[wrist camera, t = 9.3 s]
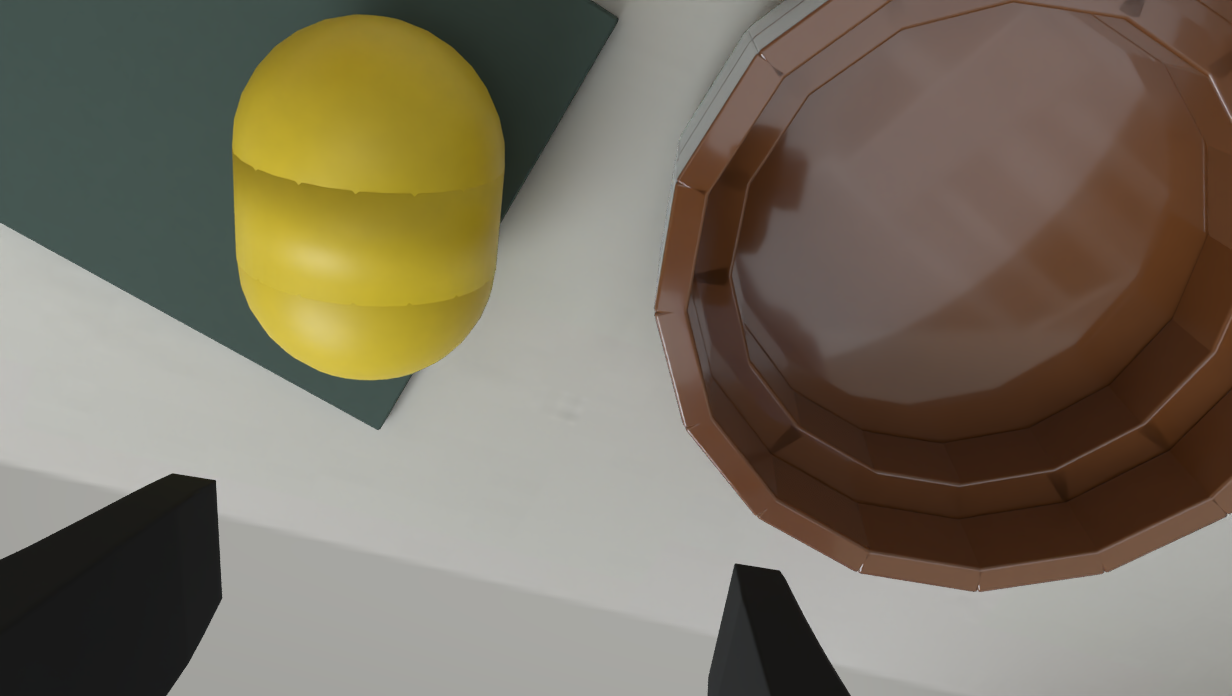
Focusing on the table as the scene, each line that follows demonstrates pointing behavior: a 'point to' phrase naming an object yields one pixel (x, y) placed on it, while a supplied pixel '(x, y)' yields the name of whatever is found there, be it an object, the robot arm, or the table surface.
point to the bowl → (962, 281)
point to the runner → (224, 137)
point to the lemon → (367, 196)
